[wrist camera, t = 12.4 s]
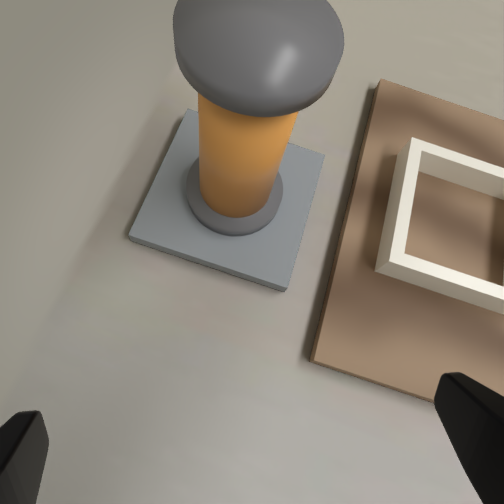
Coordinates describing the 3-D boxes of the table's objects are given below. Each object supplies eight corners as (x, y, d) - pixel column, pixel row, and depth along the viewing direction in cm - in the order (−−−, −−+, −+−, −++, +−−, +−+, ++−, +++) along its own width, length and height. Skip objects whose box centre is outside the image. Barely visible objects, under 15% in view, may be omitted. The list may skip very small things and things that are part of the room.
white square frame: (512, 317, 24) (539, 311, 22) (374, 271, 24) (389, 261, 22) (519, 195, 27) (542, 181, 25) (397, 154, 27) (411, 136, 25)
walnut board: (532, 435, 23) (547, 437, 22) (309, 361, 22) (313, 360, 21) (540, 144, 30) (551, 136, 29) (375, 88, 30) (381, 78, 29)
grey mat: (284, 292, 24) (287, 288, 23) (131, 241, 24) (128, 234, 23) (320, 163, 27) (325, 155, 26) (188, 118, 27) (187, 108, 26)
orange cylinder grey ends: (298, 197, 25) (377, 39, 14) (232, 255, 23) (261, 128, 12) (235, 137, 26) (260, -55, 15) (166, 189, 24) (135, 13, 13)
